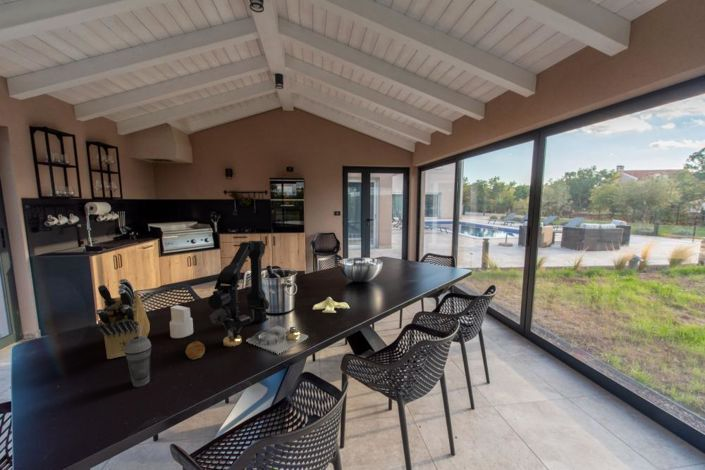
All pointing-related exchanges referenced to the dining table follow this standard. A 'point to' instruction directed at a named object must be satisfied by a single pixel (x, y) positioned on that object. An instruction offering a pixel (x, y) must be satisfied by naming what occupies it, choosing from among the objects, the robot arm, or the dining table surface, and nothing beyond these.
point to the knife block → (121, 318)
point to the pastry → (195, 350)
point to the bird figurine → (330, 305)
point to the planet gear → (232, 339)
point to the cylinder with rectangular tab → (180, 322)
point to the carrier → (277, 339)
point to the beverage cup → (139, 359)
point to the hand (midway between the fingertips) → (232, 336)
